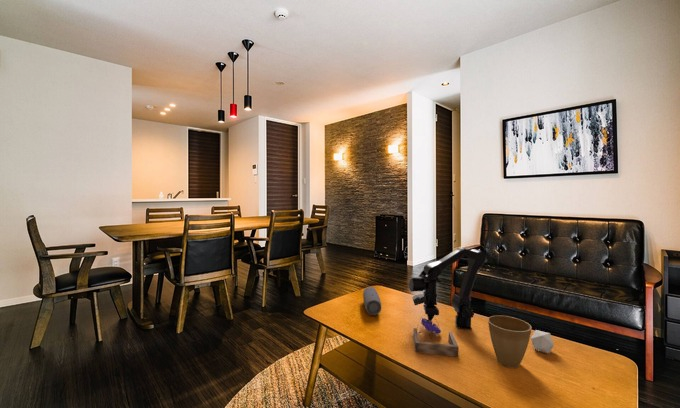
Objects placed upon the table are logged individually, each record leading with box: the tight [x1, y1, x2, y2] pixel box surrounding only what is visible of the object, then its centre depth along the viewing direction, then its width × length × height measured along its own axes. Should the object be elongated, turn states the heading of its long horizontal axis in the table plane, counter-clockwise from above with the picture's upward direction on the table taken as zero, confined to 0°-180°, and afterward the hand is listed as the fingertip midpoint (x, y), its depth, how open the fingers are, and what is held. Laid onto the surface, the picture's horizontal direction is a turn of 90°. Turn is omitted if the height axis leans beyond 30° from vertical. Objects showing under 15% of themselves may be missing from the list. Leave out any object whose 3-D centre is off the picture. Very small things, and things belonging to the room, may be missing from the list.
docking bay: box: [412, 327, 459, 358], centre depth 127 cm, size 17×14×4 cm
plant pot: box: [487, 315, 533, 369], centre depth 116 cm, size 15×15×16 cm
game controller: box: [417, 314, 442, 341], centre depth 139 cm, size 11×9×11 cm
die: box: [530, 329, 555, 354], centre depth 125 cm, size 8×9×10 cm
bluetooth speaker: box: [362, 286, 382, 316], centre depth 168 cm, size 23×9×10 cm, turn 179°
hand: (429, 321), depth 145 cm, fingers closed
